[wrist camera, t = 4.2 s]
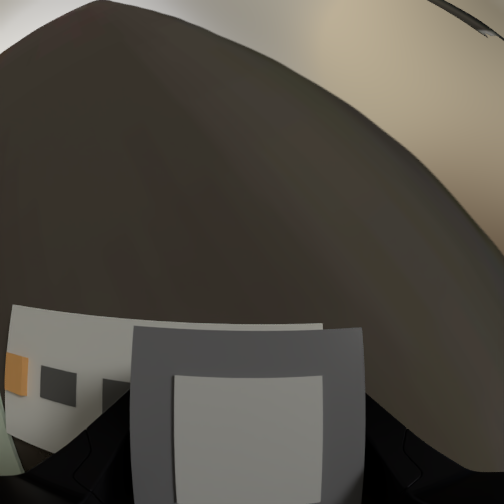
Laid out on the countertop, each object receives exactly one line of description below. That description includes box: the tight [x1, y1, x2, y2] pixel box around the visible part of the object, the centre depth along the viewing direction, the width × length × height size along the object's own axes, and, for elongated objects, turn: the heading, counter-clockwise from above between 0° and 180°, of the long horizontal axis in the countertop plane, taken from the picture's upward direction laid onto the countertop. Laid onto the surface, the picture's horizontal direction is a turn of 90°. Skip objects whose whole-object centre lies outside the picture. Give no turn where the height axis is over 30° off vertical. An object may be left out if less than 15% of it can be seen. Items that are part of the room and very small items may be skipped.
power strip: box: [5, 305, 323, 453], centre depth 13 cm, size 18×8×3 cm, turn 90°
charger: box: [130, 326, 365, 504], centre depth 9 cm, size 5×5×9 cm
